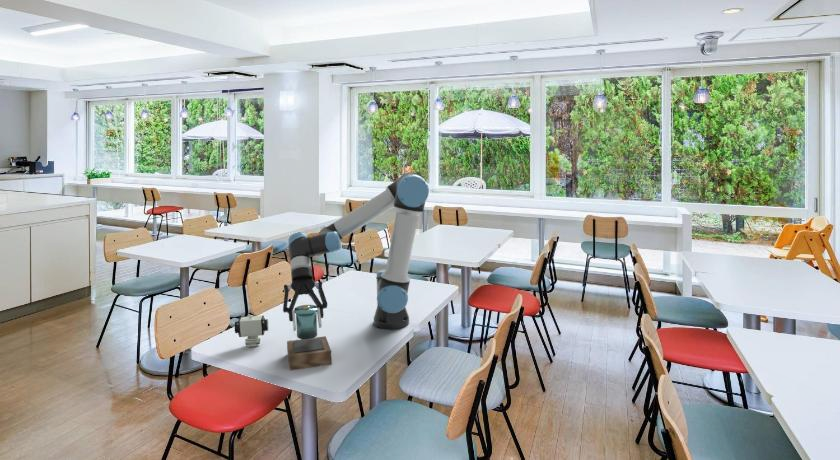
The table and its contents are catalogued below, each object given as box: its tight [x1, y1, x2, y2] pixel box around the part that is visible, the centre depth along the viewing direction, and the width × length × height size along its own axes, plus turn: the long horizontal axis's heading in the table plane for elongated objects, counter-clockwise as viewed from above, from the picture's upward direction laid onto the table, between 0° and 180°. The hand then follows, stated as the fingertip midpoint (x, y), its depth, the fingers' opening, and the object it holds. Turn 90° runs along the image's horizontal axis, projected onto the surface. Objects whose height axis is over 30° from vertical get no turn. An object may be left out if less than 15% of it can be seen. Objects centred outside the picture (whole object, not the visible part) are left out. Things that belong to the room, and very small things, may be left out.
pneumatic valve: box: [234, 314, 269, 348], centre depth 189 cm, size 6×12×12 cm, turn 101°
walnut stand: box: [286, 335, 333, 371], centre depth 176 cm, size 14×14×5 cm
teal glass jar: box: [293, 304, 318, 340], centre depth 174 cm, size 8×8×11 cm
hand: (307, 327), depth 171 cm, fingers closed on teal glass jar, 8 cm apart
